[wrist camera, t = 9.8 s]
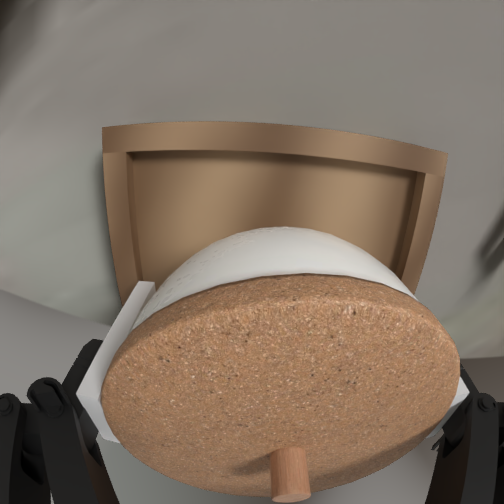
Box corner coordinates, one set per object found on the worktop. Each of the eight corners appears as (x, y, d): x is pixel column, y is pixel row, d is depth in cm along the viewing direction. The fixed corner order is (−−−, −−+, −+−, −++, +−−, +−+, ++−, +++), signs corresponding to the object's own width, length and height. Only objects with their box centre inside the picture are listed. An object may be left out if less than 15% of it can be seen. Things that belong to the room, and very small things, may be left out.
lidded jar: (119, 277, 14) (22, 437, 5) (309, 138, 11) (472, 208, 2) (248, 396, 17) (247, 535, 9) (405, 314, 15) (483, 455, 6)
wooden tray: (420, 146, 14) (448, 153, 11) (363, 363, 21) (373, 390, 18) (126, 124, 14) (102, 127, 11) (152, 357, 20) (142, 384, 18)
